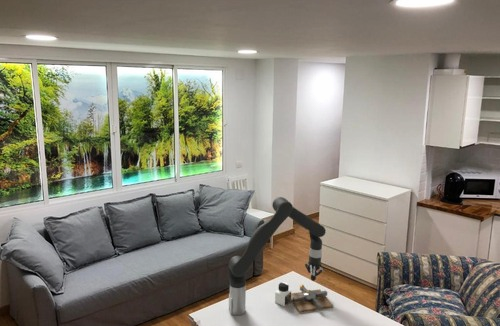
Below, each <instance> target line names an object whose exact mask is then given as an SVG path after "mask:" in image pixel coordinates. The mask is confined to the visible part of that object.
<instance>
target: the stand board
mask: <svg viewBox="0 0 500 326" xmlns="http://www.w3.org/2000/svg"><path fill="white" fill-rule="evenodd" d="M311 291H314V292H315V293H317V292H322V291H323V290H321V289H313V290H311ZM298 296H303V292H302V291H299V292H291V302H290V303H292V305H293V307H294V308H295V310H296V311H297V313H298V314H301V313H302V314H304V313H308V312H314V311H320V310H326V309H327V310H328V309H333V308H334V305H333V303H332V302H331V301H330V299H329V298H328V297H327V296H323V297H318V298H316V300H317V301H318V302H319V303H320V304H321V309H318V308H317V307H316V306H315V305H314V304H313V303H312V302H308V301H305V300H304V301H300V302H295V303H294V302H293V297H298Z"/></svg>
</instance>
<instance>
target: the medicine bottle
mask: <svg viewBox="0 0 500 326" xmlns="http://www.w3.org/2000/svg"><path fill="white" fill-rule="evenodd" d="M277 289H278V290H276V291H275V292H274V295H275V296H274V302H275V303H276V304H278V305H280V306H282V307H286V306H287V305H288V304H289V303H292V302H291V293H292V291H291V290H289V283H287V282H284V281H283V282H279V283H278V288H277Z"/></svg>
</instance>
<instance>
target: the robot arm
mask: <svg viewBox="0 0 500 326" xmlns="http://www.w3.org/2000/svg"><path fill="white" fill-rule="evenodd" d="M271 205H272V208H273V210H274V214H273V216H272V217H271V218H270V219H269V220H268V221H265V222H264V223H263V224H260V225H259V226H258V227H257V228H256V229H255V230H254V232H253V233H252V234H251V236H250V238H249V241H248V243H247V246H246V249H245V251H244V253H243V254H242V255H241V256H240V255H234V256H232V257H231V258H230V260H229V262H228V279H229V294H228V310H229V312H230V315H231V316H232V315H233V316H241V315H242V316H243V314H245V313H246V299H247V298H246V294H247V293H246V292H247V291H246V289H247V284H246V283H247V280H246V279H247V278H246V276H245V275H246V274H247V272H248V271H249V269H250V267H251V266H252V264H253V262H254V261H255V260H256V258H257V257H258V256H259V254H260V253H261V251H262V250H263V248H264V247H265V246H266V244H267V243H268V242H269V241H270V239H271V238H272V236H273V235H274V234H275V233H276V232H277V231H278V228H279V227H280V226H281V225H282V224H283V223H284V222H285V221H286V220H287V219H288V217H289V218H290V219H291V220H293V221H294V222H295V223H296V224H298V226H300V227H302V228H304V229H305V230H307V231H308V232H309V233H308V235H309V240H310V246H309V253H308V261H307V262H306V263H305V264H304V267H305V268H306V270H307V272H308V274H310V279H311V281H312V282H314V281H315V280H317V277H318V276H319V275H321V274H322V273H323V272H324V271H325V270H324V268H322V265H321V264H322V254H323V249H322V248H323V240H322V237H324V236H325V234H326V228H325V227H324V226H323V225H322V224H320V223H318V222H316V221H315V220H314V219H312V218H311V217H310V216H309V215H306V214H305V213H304V212H301V211H300V210H298V209H297V208H296V207H294V206H293V204H292V203H291V202H290V201H289V200H288V199H286V198H285V197H282V196H279V197H275V199H273V201H272V203H271Z"/></svg>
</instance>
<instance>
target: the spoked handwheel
mask: <svg viewBox="0 0 500 326" xmlns="http://www.w3.org/2000/svg"><path fill="white" fill-rule="evenodd" d="M299 290H300V292H303V296H298V297H293V302H294V303H295V302H300V301H304V300H305V301H308V302H312V303H313V304H314V305H315V306H316V307H317V308H318V309H321V304H320V303H319V302H318V301H317V300H316V298H318V297H323V296H326V297H327V296H328V291H327V290H321V291H322V292H317V293H315V292H314V291H312V290H310V289H307V288H306V287H305V285H304V284H300V285H299Z"/></svg>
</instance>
